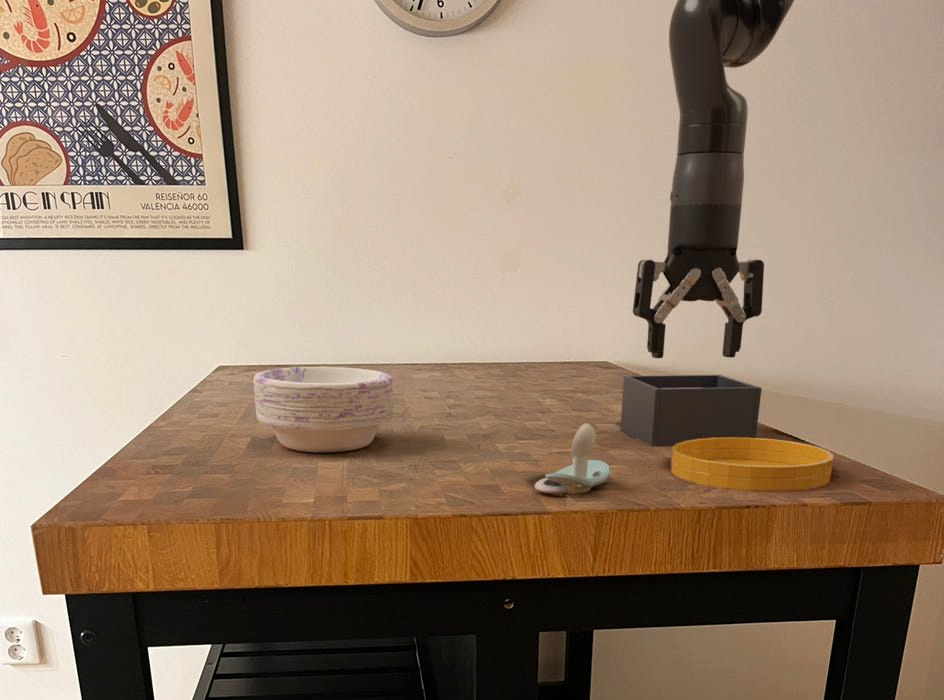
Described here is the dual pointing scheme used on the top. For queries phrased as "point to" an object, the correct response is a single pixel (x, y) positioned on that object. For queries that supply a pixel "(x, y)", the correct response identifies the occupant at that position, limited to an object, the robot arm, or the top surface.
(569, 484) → the pacifier
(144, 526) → the top surface
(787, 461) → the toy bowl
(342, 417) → the paper bowls
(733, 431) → the grey bin
